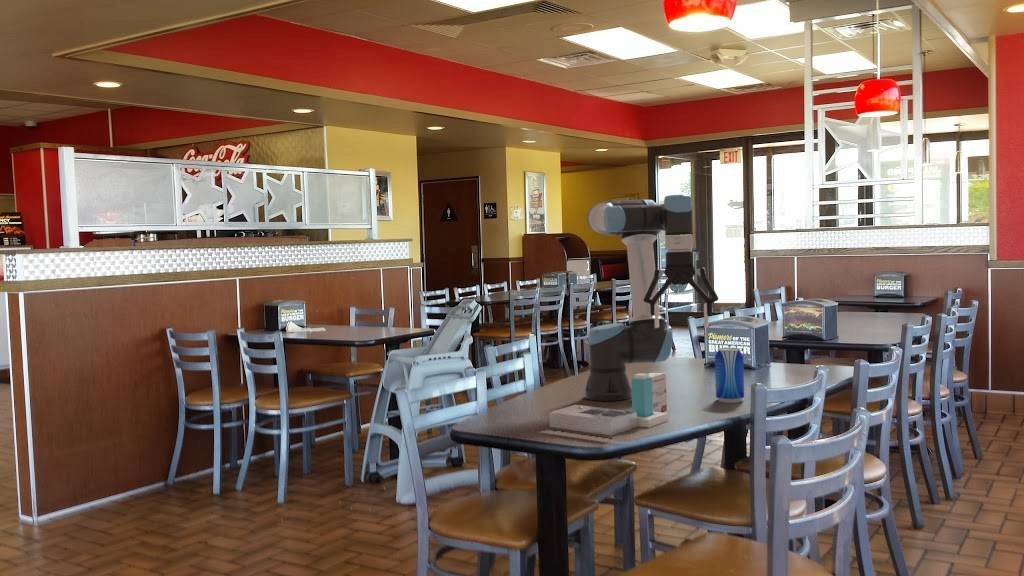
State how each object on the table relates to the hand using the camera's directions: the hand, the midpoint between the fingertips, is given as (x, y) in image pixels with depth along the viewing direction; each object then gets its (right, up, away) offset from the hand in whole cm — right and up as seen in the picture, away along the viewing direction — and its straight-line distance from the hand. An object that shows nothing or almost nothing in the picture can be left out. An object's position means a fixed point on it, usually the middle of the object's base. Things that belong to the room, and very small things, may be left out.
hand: (681, 327), depth 241 cm
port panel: (-25, -27, -9) cm, 38 cm away
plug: (-11, -25, -5) cm, 28 cm away
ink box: (-7, -26, +8) cm, 28 cm away
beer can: (+20, -24, +25) cm, 40 cm away
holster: (-11, -26, -5) cm, 29 cm away
